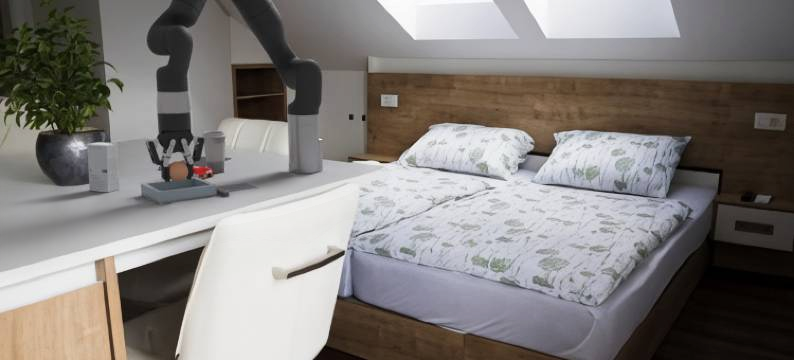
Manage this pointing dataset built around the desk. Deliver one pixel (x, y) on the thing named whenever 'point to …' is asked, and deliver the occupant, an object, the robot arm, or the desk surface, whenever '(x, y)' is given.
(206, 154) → the cup
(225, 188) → the tee mat
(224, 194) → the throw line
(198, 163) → the notebook
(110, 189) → the skincare box
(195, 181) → the blue-grey tray
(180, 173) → the ball
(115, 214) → the desk surface
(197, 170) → the race car
